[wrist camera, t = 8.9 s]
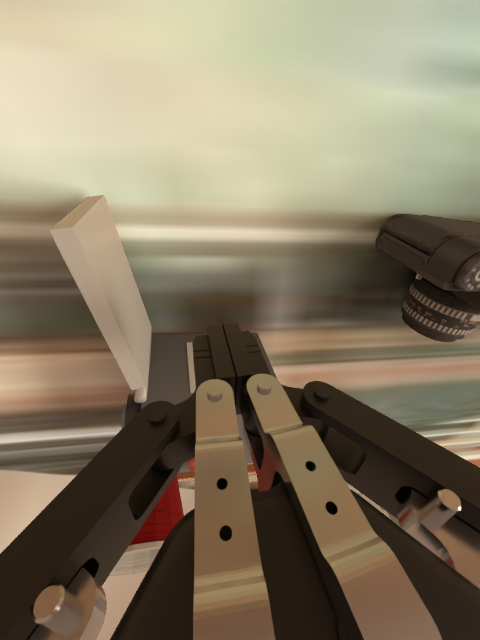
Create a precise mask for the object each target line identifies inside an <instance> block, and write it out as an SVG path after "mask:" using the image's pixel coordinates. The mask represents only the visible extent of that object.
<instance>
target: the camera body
mask: <svg viewBox="0 0 480 640" xmlns="http://www.w3.org/2000/svg"><path fill="white" fill-rule="evenodd" d="M251 334H252V335H253V336H254V337H255V338H256V340H257V342H258V346H259V347H260V350H261V352H262V354H263V357H264V359H265V362H266V364H267V366H268V369H269V371H270V374H271V376H273V377H275V378H276V375H275V373H274V371H273V368H272V366H271V364H270V361H269V359H268V357H267V355H266V352H265V350H264V348H263V345H262V343H261V341H260V338H259V336H258V334H257V333H251ZM198 335H206V333H152V340H151V352H150V364H149V376H148V388H147V400H146V401H145V402H143V403H137V402H135V401H134V397H135V394H129V396H128V400H127V404H124V407H123V413H122V429H123V428H124V427H125V426H126V425H127V424H128V423H129V422H130V421H131V419H132V418H133V417H134V416H135V415H136V414H137V413H138V412H139V411H140V410H141V409H142V408H143V407H145V406H146V405H148V404H150V403H152V402H155V401H168V402H170V403H172V404H173V405H176V404H178V403H181V402H183V401H185V400H187V399H188V398H189V397H190V396H191V395H192V394H193V393H194V391H195V389H196V384H195V374H194V362H193V346H192V343H193V341H194V339H195V337H196V336H198ZM276 379H277V378H276ZM236 416H237V423H238V430H239V436H240V438H242V441H243V446H244V453H245V459H246V464H247V463H253V461H252V458H251V455H250V452H249V449H248V446H247V443H246V440H245V437H244V433H243V419H242V415H241V414H238V415H236ZM190 471H195V457H194V458H192V459H190V460H188V461H187V462H185V463H183V464H182V467H181V469H180V470H179V472H178V473H182V472H190Z"/></svg>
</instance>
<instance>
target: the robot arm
mask: <svg viewBox="0 0 480 640" xmlns="http://www.w3.org/2000/svg"><path fill="white" fill-rule="evenodd" d="M192 346H193V362H194V374H195V384H196V389H195V391H194V393H193V394H192V395H191V396H190V397H189V398H188V399H187V400H185V401H183V402H181V403H178V404H176V405H173V404H172V403H170V402H168V401H155V402H152V403H150V404H148V405H146V406H145V407H143V408H142V409H141V410H140V411H139V412H138V413H137V414H136V415H135V416H134V417H133V418H132V419H131V421H130V422H129V423H128V424H127V425H126V426H125V427H124V428H123V429H122V430H121V431H120V432H119V433H118V434H117V435H116V436H115V437H114V438H113V439H112V440H111V441H110V442H109V443H108V444H107V445H106V446H105V447H104V448H103V449H102V450H101V451H100V452H99V453H98V454H97V455H96V456H95V457H94V458H93V459H92V461H91V462H90V463H89V464H88V465H87V466H86V467H85V468H84V469H83V470H82V471H81V472H80V473H79V474H78V475H77V476H76V477H75V478H74V479H73V480H72V481H71V482H70V483H69V484H68V485H67V486H66V487H65V488H64V489H63V490H62V491H61V492H60V493H59V494H58V495H57V496H56V497H55V498H54V500H53V501H52V502H51V503H50V504H49V505H48V506H47V507H46V508H45V509H44V510H43V511H42V512H41V513H40V514H39V515H38V516H37V517H36V518H35V519H34V520H33V521H32V522H31V523H30V524H29V525H28V526H27V527H26V528H25V529H24V530H23V532H21V534H20V535H18V536H17V538H15V539H14V540H13V542H12V543H11V544H10V545H9V546H8V547H7V548H6V549H5V550H4V551H3V552H2V553H1V554H0V640H96V638H97V636H98V634H99V632H100V630H101V628H102V625H103V622H104V618H105V614H106V603H107V602H106V595H105V592H104V590H103V588H102V585H103V584H104V582H105V581H106V579H107V577H108V576H109V575H110V573H111V572H112V570H113V569H114V567H115V566H116V564H117V563H118V561H119V560H120V558H121V557H122V555H123V554H124V552H125V551H126V549H127V548H128V546H129V545H130V543H131V542H132V540H133V539H134V537H135V536H136V534H137V533H138V531H139V530H140V528H141V527H142V525H143V524H144V522H145V521H146V519H147V518H148V516H149V515H150V513H151V512H152V510H153V509H154V507H155V506H156V504H157V503H158V501H159V500H160V498H161V497H162V495H163V494H164V493H165V491H166V490H167V488H168V487H169V485H170V484H171V482H172V481H173V479H174V478H175V476H176V475H177V473H178V472H179V470H180V469H181V467H182V464H183V463H185V462H187V461H188V460H190V459H192V458H194V457H195V508H194V509H193V510H191V511H190V512H189V513H187V514H186V515H185V516H184V517H183V518H182V519H181V520H180V521H179V522H178V523H177V524H176V525H175V526H174V527H173V529H172V530H171V532H170V533H169V534H168V536H167V537H166V539H165V541H164V542H163V544H162V546H161V548H160V550H159V551H158V553H157V555H156V557H155V559H154V561H153V562H152V564H151V566H150V568H149V570H148V571H147V573H146V575H145V577H144V579H143V581H142V582H141V584H140V586H139V588H138V590H137V591H136V593H135V595H134V597H133V599H132V601H131V603H130V604H129V606H128V608H127V610H126V612H125V613H124V615H123V617H122V619H121V621H120V623H119V624H118V626H117V628H116V630H115V632H114V633H113V635H112V637H111V639H110V640H480V468H479V467H478V466H476V465H474V464H472V463H470V462H468V461H467V460H465V459H463V458H461V457H459V456H458V455H456V454H454V453H452V452H450V451H449V450H447V449H445V448H443V447H441V446H440V445H438V444H436V443H434V442H432V441H430V440H429V439H427V438H425V437H423V436H421V435H420V434H418V433H416V432H414V431H412V430H411V429H409V428H407V427H405V426H403V425H401V424H400V423H398V422H396V421H394V420H392V419H391V418H389V417H387V416H385V415H383V414H382V413H380V412H378V411H376V410H374V409H372V408H371V407H369V406H367V405H365V404H363V403H362V402H360V401H358V400H356V399H354V398H353V397H351V396H349V395H347V394H345V393H343V392H342V391H340V390H338V389H336V388H334V387H333V386H331V385H329V384H327V383H324V382H320V381H313V382H309V383H307V384H306V385H305V387H304V389H299V388H292V387H287V386H284V385H282V384H281V383H280V382H279V381H278V379H276V378H275V377H273V376H271V374H270V371H269V369H268V366H267V364H266V362H265V359H264V357H263V354H262V352H261V350H260V347H259V346H258V342H257V340H256V338H255V337H254V336H253V335H252V334H251V333H250V332H249V331H244V332H241V331H240V328H239V325H238V323H237V322H228V323H222V324H221V323H216V324H206V335H198V336H196V337H195V339H194V341H193V343H192ZM238 414H241V415H242V419H243V433H244V437H245V440H246V443H247V446H248V449H249V452H250V455H251V458H252V461H253V464H254V467H255V470H256V473H257V478H258V486H259V491H252V490H250V486H249V479H248V472H247V466H246V459H245V453H244V446H243V441H242V438H240V436H239V430H238V423H237V416H236V415H238ZM331 428H332V429H331ZM333 429H334V430H333ZM336 431H337V432H336ZM339 433H340V434H339ZM342 435H343V436H342ZM345 437H346V438H345ZM347 438H348V439H347ZM350 440H351V441H350ZM353 442H354V443H353ZM345 481H346V482H347V483H349V484H350V485H351V486H353V487H354V488H356V489H357V490H358V491H360V492H361V493H362V494H364V495H365V496H367V497H368V498H369V499H371V500H372V501H373V502H375V503H376V504H378V505H379V506H380V507H381V509H382V510H384V511H386V512H387V513H388V515H389V517H390V518H391V519H389V518H388V517H387V516H385V515H384V514H383V513H381V512H380V511H379V510H378V509H376V508H375V507H374V506H372V505H371V504H370V503H369V502H367V501H366V500H365V499H363V498H362V497H361V496H360V495H358V494H357V493H355V492H354V491H352V490H350V489H349V487H348V486H347V484H346V482H345Z"/></svg>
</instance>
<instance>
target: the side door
mask: <svg viewBox="0 0 480 640" xmlns="http://www.w3.org/2000/svg"><path fill="white" fill-rule="evenodd" d="M49 231H50V233H51V235H52V237H53V239H54V241H55V243H56V245H57V247H58V249H59V251H60V253H61V255H62V257H63V259H64V260H65V262H66V264H67V266H68V268H69V270H70V272H71V274H72V276H73V278H74V280H75V282H76V284H77V286H78V288H79V290H80V292H81V294H82V295H83V297H84V299H85V301H86V303H87V305H88V307H89V309H90V311H91V313H92V315H93V317H94V319H95V321H96V323H97V325H98V327H99V329H100V330H101V332H102V334H103V336H104V338H105V340H106V342H107V344H108V346H109V348H110V350H111V352H112V354H113V356H114V358H115V360H116V362H117V363H118V365H119V367H120V369H121V371H122V373H123V375H124V377H125V379H126V381H127V383H128V385H129V387H130V389H131V390H135V397H134V401H135V402H137V403H143V402H145V401H146V400H147V388H148V376H149V364H150V352H151V340H152V327H151V324H150V321H149V319H148V316H147V313H146V310H145V307H144V305H143V302H142V299H141V296H140V294H139V291H138V288H137V285H136V283H135V280H134V277H133V274H132V271H131V269H130V266H129V263H128V260H127V258H126V255H125V252H124V249H123V246H122V244H121V241H120V238H119V235H118V233H117V230H116V227H115V224H114V222H113V219H112V216H111V213H110V210H109V208H108V205H107V202H106V199H105V197H104V195H101V196H93V197H88V198H86V199H85V200H84V201H83V202H82V203H80V204H79V205H78V206H77V207H76V208H75V209H73V210H72V211H71V212H70V213H69V214H68V215H66V216H65V217H64V218H63V219H62V220H60V221H59V222H58V223H57V224H56V225H55V226H53V227H52V228H51V229H50V230H49Z"/></svg>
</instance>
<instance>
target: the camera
mask: <svg viewBox="0 0 480 640" xmlns="http://www.w3.org/2000/svg"><path fill="white" fill-rule="evenodd" d="M376 247H377V249H378V250H381V251H383V252H385V253H386V254H388V255H390V256H391V257H392V258H394V259H396V260H397V261H399V262H401V263H402V264H404V265H405V266H407V267H408V268H410V269H412V270H413V271H415V272H416V273H417V275H416V280H415V281H413V282H412V284H411V286H410V288H409V294H408V296H407V297H406V298H405V300H404V301H403V307H402V310H401V311H402V314H403V315H402V319H403V320H404V322H405V323H406V324H407V325H408V326H409V327H410V328H412V329H414V330H415V331H416V332H418V333H419V334H422V335H424V336H426V337H428V338H431V339H434V340H437V341H441V342H453V341H455V340H456V339H462V338H464V337H465V335H468V334H470V333H471V332H472V331H473V330H474V329H475V328H476V325H477V324H478V323H480V223H474V222H469V221H460V220H452V219H446V218H440V217H432V216H425V215H423V216H419V215H410V214H398V215H394V216H393V217H391V218H389V219H388V220H387V221H386V222H385V224H384V225H383V226H382V228H381V230H380V232H379V234H378V237H377V239H376Z"/></svg>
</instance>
